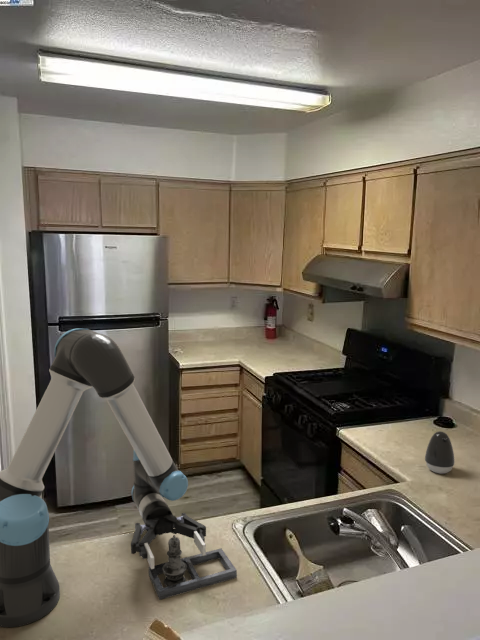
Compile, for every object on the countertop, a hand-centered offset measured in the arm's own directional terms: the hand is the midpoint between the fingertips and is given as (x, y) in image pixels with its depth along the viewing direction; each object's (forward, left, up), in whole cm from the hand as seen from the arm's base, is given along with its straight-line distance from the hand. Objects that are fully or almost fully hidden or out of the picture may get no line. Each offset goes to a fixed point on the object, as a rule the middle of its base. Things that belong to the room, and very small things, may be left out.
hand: (179, 556), depth 113 cm
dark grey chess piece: (0, +4, -9) cm, 9 cm away
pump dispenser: (+108, +24, -9) cm, 112 cm away
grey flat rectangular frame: (+4, +4, -8) cm, 10 cm away
